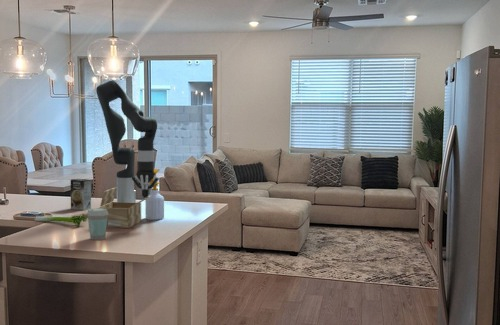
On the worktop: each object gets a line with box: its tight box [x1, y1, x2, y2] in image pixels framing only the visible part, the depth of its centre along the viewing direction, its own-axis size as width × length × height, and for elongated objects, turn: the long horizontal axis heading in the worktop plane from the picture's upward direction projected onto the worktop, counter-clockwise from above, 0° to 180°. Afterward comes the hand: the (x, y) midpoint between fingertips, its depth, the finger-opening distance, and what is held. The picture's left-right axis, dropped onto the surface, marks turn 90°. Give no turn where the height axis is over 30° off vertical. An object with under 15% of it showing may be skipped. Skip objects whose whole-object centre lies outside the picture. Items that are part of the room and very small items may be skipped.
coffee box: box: [70, 178, 92, 211], centre depth 273 cm, size 9×6×16 cm
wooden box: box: [99, 201, 142, 229], centre depth 236 cm, size 17×14×9 cm
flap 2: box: [129, 195, 153, 208], centre depth 235 cm, size 15×1×7 cm
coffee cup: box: [86, 207, 108, 241], centre depth 208 cm, size 8×8×12 cm
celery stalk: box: [34, 213, 88, 228], centre depth 236 cm, size 6×7×30 cm
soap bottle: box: [144, 168, 165, 221], centre depth 251 cm, size 9×9×25 cm
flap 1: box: [100, 186, 117, 207], centre depth 236 cm, size 15×1×7 cm, turn 174°
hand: (145, 197), depth 234 cm, fingers closed
